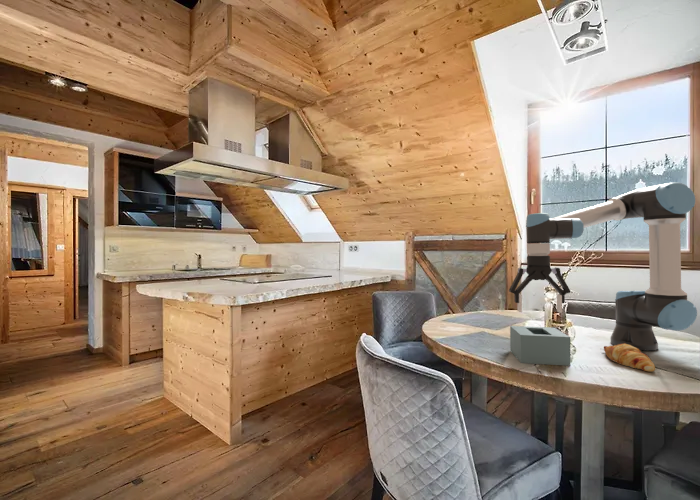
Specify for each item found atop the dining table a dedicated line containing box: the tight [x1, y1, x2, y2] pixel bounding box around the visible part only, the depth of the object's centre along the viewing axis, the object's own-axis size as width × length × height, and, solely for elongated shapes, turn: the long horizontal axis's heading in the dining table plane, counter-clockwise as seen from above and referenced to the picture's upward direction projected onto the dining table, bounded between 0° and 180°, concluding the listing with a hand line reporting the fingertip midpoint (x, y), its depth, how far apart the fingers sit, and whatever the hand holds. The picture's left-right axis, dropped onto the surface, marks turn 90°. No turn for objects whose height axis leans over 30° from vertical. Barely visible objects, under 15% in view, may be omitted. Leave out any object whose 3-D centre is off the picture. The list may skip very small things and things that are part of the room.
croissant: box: [603, 343, 656, 373], centre depth 119 cm, size 21×10×8 cm, turn 0°
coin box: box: [509, 325, 571, 366], centre depth 125 cm, size 16×14×10 cm
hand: (539, 312), depth 125 cm, fingers open, 13 cm apart
